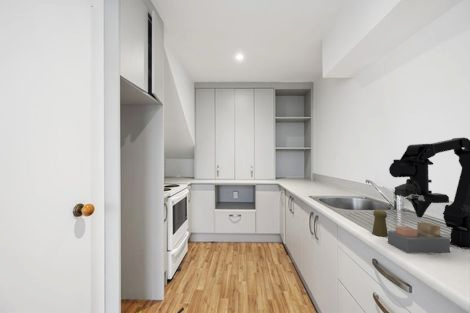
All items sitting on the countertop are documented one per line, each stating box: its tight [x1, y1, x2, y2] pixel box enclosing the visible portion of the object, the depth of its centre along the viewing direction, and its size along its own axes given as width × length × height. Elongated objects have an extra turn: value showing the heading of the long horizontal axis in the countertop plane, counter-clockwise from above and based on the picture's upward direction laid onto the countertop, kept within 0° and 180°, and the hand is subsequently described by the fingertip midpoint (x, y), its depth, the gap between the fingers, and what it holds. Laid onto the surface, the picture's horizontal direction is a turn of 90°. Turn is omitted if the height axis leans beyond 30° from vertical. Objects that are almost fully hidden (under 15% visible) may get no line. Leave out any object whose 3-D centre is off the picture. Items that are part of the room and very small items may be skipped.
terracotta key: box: [395, 225, 418, 237], centre depth 89 cm, size 5×5×6 cm
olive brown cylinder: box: [371, 209, 388, 238], centre depth 105 cm, size 6×6×11 cm
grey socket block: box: [387, 230, 451, 254], centre depth 89 cm, size 16×10×5 cm, turn 93°
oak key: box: [416, 221, 441, 237], centre depth 90 cm, size 5×5×6 cm
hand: (419, 217), depth 89 cm, fingers closed
